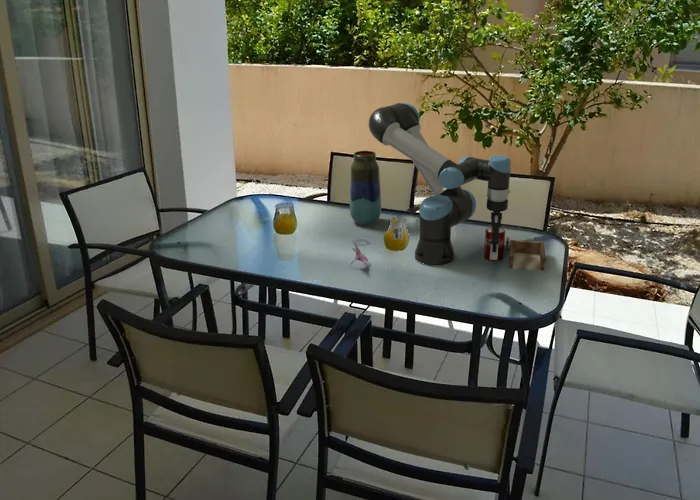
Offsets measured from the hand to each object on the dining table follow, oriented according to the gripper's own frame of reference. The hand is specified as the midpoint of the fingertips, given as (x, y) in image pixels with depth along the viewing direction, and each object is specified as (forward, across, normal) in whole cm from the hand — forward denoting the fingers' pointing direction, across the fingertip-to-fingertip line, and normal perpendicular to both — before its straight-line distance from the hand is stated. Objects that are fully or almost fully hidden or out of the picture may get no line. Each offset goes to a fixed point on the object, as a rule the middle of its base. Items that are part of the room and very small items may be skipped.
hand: (493, 252), depth 237 cm
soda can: (+3, 0, 0) cm, 3 cm away
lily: (+3, -16, +48) cm, 51 cm away
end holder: (+3, 0, -12) cm, 12 cm away
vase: (+3, +31, +56) cm, 64 cm away
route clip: (+3, +11, -3) cm, 12 cm away
